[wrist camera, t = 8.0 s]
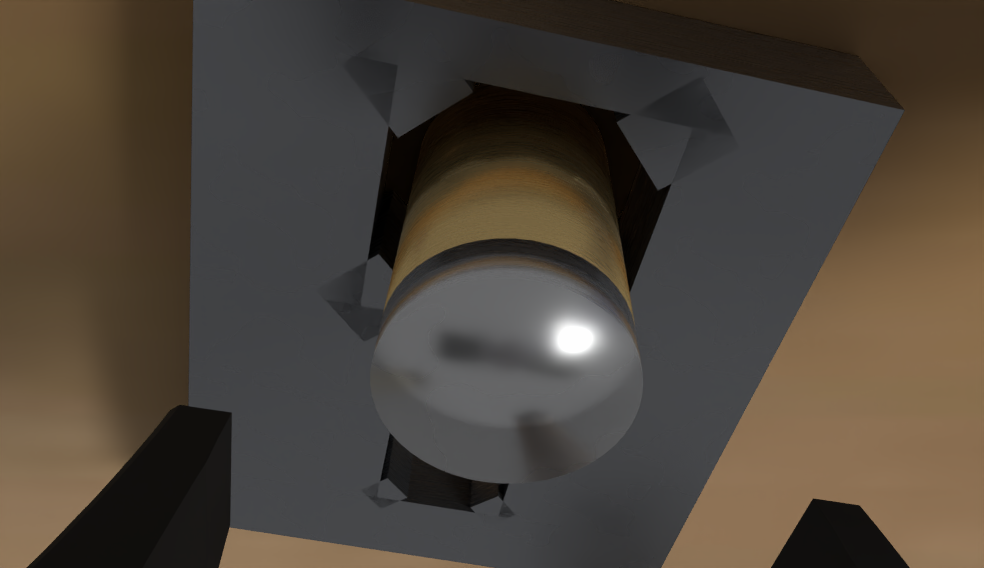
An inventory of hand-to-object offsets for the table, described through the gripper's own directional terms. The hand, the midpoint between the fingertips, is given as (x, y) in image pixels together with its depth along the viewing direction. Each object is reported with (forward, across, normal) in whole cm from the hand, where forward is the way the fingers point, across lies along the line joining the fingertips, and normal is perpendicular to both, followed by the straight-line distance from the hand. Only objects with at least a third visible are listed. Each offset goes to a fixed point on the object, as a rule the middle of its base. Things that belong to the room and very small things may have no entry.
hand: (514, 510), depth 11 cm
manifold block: (+9, 0, +3) cm, 10 cm away
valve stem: (+9, 0, 0) cm, 9 cm away
